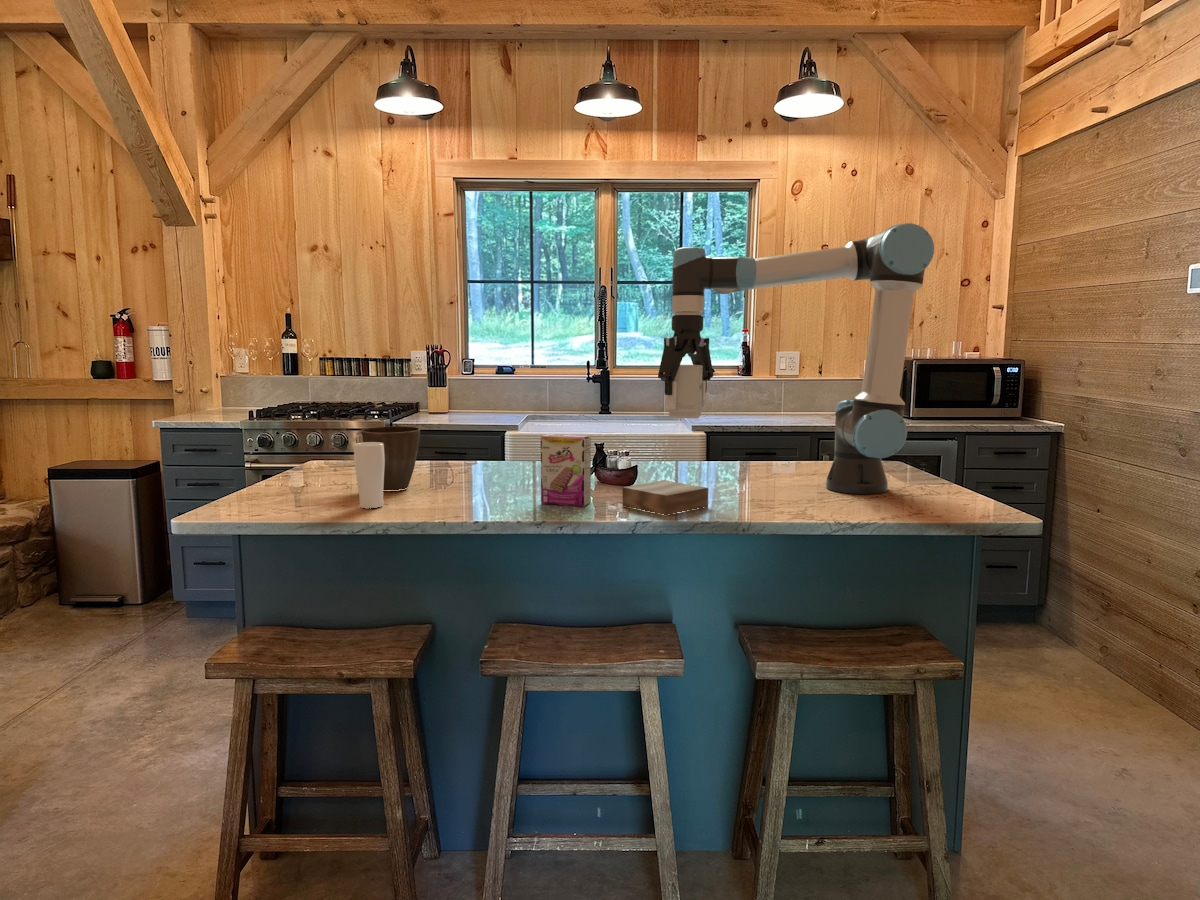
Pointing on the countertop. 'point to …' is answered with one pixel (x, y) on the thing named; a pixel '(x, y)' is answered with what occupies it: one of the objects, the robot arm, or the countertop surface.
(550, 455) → the candy bar box
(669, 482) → the walnut base block
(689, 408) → the supplement box
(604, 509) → the countertop surface
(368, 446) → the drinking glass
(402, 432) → the plant pot
